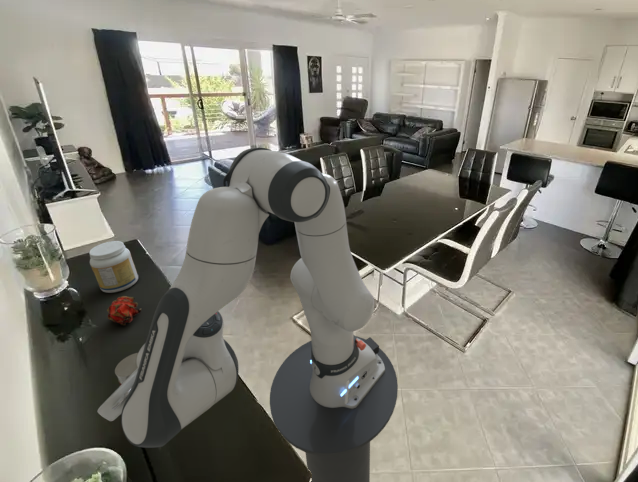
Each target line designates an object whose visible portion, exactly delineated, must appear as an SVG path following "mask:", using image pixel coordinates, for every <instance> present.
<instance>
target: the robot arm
mask: <svg viewBox="0 0 638 482" xmlns="http://www.w3.org/2000/svg"><path fill="white" fill-rule="evenodd" d="M222 179H223V180H222V184H223V185H222V186H220V187H214V188H211V189H208V190H207V191H206V192H204V193H203V194H202V195H201V196H200V198H199V199H198V202H197V204H196V207H195V210H194V213H193V216H192V219H191V223H190V227H189V231H188V236H187V243H186V250H185V255H184V259H183V262H182V265H181V267H180V270H179V272H178V274H177V276H176V278H175V279H174V281H173V283H172V284H171V286H170V287H169V289H168V290H167V291H165V293H164V294H163V295H162V296H161V298H160V299H159V301H158V303H157V305H156V308H155V309H154V313H153V316H152V319H151V323H150V326H149V330H148V332H147V333H148V334H147V337H146V341H145V343H144V344H143V345H142V346H141V348H139V350H138V352H137V353H138V356H137V366H138V368H137V369H136V370H135V371H134V372H133V373H132V374H131V375H130V376H129V377H128V378H127V379H126V380H125V381H124V382H123V383H122V384H121V385H120V384H119V386H118V387H117V388H116V389H115V390H114V391H113V392H112V394H111V395H110V396H109V397H108V398H106V400H105V401H103V402H102V404H100V406H99V407H98V408H97V413H98V415H100V416H101V417H102V418H103V419H106V420H107V421H109V422H113V421H115V420H116V419H117V418H119V416H120V423H121V429H122V432H123V435H124V437H125V438H126V440H127V441H128V442H129V443H130V444H131V445H133V446H134V447H137V448H145V449H151V448H152V449H153V448H154V449H155V448H162V447H164V446H165V445H166V444H167V443H169V442H170V441H171V440H172V439H174V437H175V436H177V435H178V434H179V433H180V432H181V431H182V430H183V429H184V428H186V427H187V426H189V424H191V423H193V421H195V420H196V419H198V418H199V417H200V416H202V414H204V413H205V412H207V411H208V410H209V409H211V408H212V407H213V406H214V405H216V404H217V403H218V402H219V401H221V400H222V399H224V398H225V397H226V396H227V395H229V394H230V393H231V392H233V390H234V389H235V387H236V386H237V383H238V379H239V372H240V371H239V360H238V356H237V354H236V353H235V350H234V348H233V347H232V346H231V345H230V343H229V342H228V341H226V339H224V327H225V326H224V325H225V324H224V318H223V315H222V314H221V312H220V311H221V310H222V309H223V308H224V307H226V306H227V305H229V304H230V303H231V302H232V301H233V302H234V300H236V299H237V298H238V297H239V296H241V294H242V293H243V292H245V290H246V289H247V287H248V286H249V283H250V281H251V279H252V277H253V274H254V271H255V267H256V260H257V254H258V248H259V247H258V246H259V237H260V236H259V235H260V232H261V230H262V227H263V225H264V223H265V221H266V220H267V219H268V217H269V216H270V214H272V215H275V216H276V217H278V219H281V220H284V221H287V222H291V223H294V227H295V233H296V239H297V244H298V250H299V255H300V258H299V259H298V260H297V261H296V262H295V263H294V265H293V266H292V268H291V271H290V277H289V278H290V282H291V283H292V286H293V287H294V288H293V289H295V291H296V294H297V296H298V298H299V301H300V304H301V307H302V310H303V314H304V315H305V319H306V321H307V324H308V327H309V331H310V339H311V340H312V348H311V359H312V360H310V363H312V367H313V373H312V378H311V381H310V393H311V395H312V397H313V399H314V400H315V401H316V402H317V403H319V404H320V405H322V406H325V407H329V408H336V407H346V408H351V409H354V408H356V407H357V406H358V405H359V403H360V402H361V401H362V400H363V398H364V397H365V396H366V395H367V393H368V392H369V391H370V390H371V388H372V387H373V386H374V385H375V383H376V382H377V381H378V380H379V378H380V377H381V376H382V375H383V373H384V372H385V367H384V363H383V361H382V360H381V358H380V357H379V356H378V355H377V353H378V352H379V348H380V345H379V344H378V343H377V342H376V341H375V340H374V339H373V338H372V336H371V337H370V336H369V337H367V338H366V340H365V341H362V340H360V339H358V338H356V337H355V336H356V335H354V332H355V331H358V330H361V329H362V328H364V327H365V326H366V325H367V324H368V323H369V322H370V320H371V319H372V317H373V315H374V312H375V298H374V296H373V294H372V293H371V291H370V290H369V289H368V287H367V286H366V284H365V283H364V281H363V278H362V277H361V274H360V272H359V269H358V267H357V264H356V262H355V260H354V257H353V255H352V251H351V248H350V247H351V246H350V241H349V234H348V224H347V216H346V209H345V203H344V200H343V199H344V198H343V195H342V192H341V189H340V185H339V183H338V182H337V180H336V179H335V177H333V176H332V175H330V174H328V173H324V172H321V171H320V170H319V169H318V168H317V167H316V166H314V165H313V164H312V163H310V162H308V161H304V160H301V159H300V158H297V157H295V156H293V155H291V154H289V153H285V152H281V151H280V152H279V151H275V150H271V149H269V148H265V147H250V148H246V149H244V150H242V151H241V152H240V153H238V154H237V156H236V157H235V158H234V159H233V161H232V162H231V165H230V167H229V170H228V172H227V173H226V174H225V175H224V176H223V178H222ZM311 340H310V341H311ZM379 363H381V364H379ZM355 399H357V400H356V401H355Z"/></svg>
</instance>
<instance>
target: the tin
mask: <svg viewBox="0 0 638 482" xmlns="http://www.w3.org/2000/svg"><path fill="white" fill-rule="evenodd" d="M138 353H139V352H135V353H132V354H130V355H127V356H126V357H124V358H123V359H122V360H120V361H119V362H118V363H117V365H116V367H115V369H114V374H115V377H116V379H117V381H118V383H119V386H120V385H121V384H122V383H123V382H124V381H125V380H126V379H127V378H128V377H129V376H130V375H131V374H132V373H133V372H134V371H135V370H136V369H137V368H138V366H137V356H138Z"/></svg>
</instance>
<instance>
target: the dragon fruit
mask: <svg viewBox="0 0 638 482" xmlns="http://www.w3.org/2000/svg"><path fill="white" fill-rule="evenodd" d="M138 305H139V302H136V301H135V297H134V296H127V295H122V296H118V297H117V299H114V300H112V302H111V305H109V307H108V308H107V309H106V311H107V319H108V320H111V322H113V323H117V324H119V325H121V326H126V325H127V324H126V323H128V324H129V323H131V322H133V321H134V317H135V316H136V315H139V314H141V312H142V308H139V309H138Z"/></svg>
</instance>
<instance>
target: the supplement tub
mask: <svg viewBox="0 0 638 482" xmlns="http://www.w3.org/2000/svg"><path fill="white" fill-rule="evenodd" d="M89 265H90V268H91V270H92V272H93V275H94V277H95V279H96V281H97V282H96V283H97V284H98V287H99V289H100V290H101V291H102V292H103V293H107V294H113V293H114V294H115V293H119V292H122V291H125V290H128V289H130V288H131V287H133V286H134V285H135V284H136V283H137V282H138V280H139V274H138V271H137V269H136V265H135V262H134V260H133V257H132V254H131V251H130V250H129V248H127V247H126V245H125V244H124V242H123V241H120V240H111V241H106V242H103V243H99V244H98V245H95V246H94V247H92V248H91V249H90V250H89Z"/></svg>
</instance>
